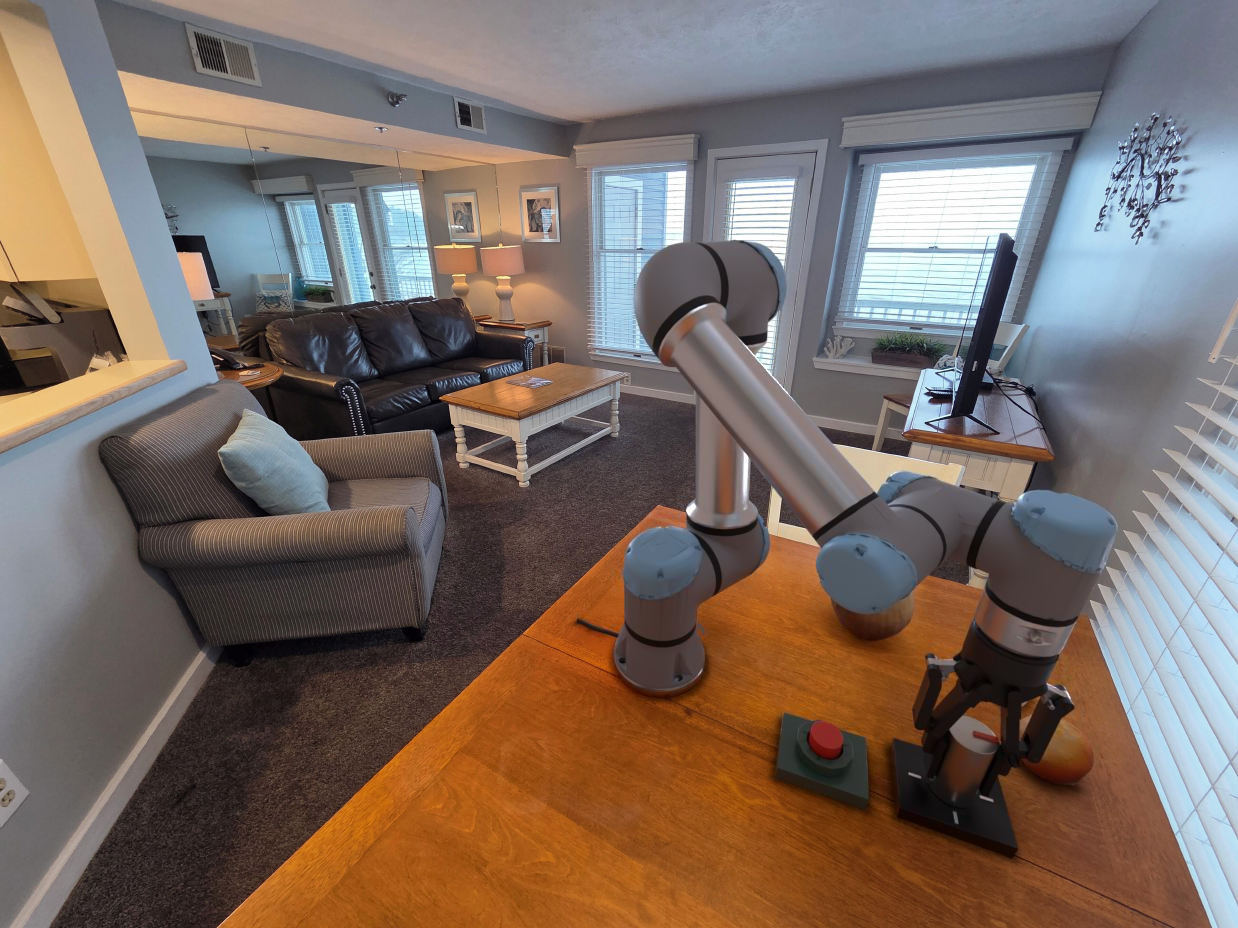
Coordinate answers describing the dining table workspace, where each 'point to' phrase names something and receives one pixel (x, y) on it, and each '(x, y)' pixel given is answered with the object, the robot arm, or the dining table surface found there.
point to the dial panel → (921, 806)
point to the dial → (964, 762)
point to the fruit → (1063, 755)
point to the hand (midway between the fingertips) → (954, 775)
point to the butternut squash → (877, 620)
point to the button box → (823, 763)
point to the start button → (825, 740)
